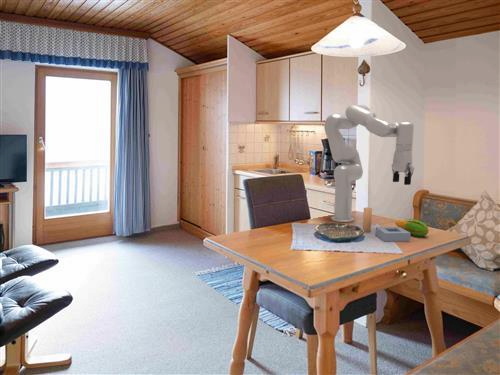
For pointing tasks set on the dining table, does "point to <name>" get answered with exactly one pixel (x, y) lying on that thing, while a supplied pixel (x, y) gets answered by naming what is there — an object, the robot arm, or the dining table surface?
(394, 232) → the socket block
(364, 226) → the peg
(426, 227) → the corn
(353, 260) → the dining table surface
